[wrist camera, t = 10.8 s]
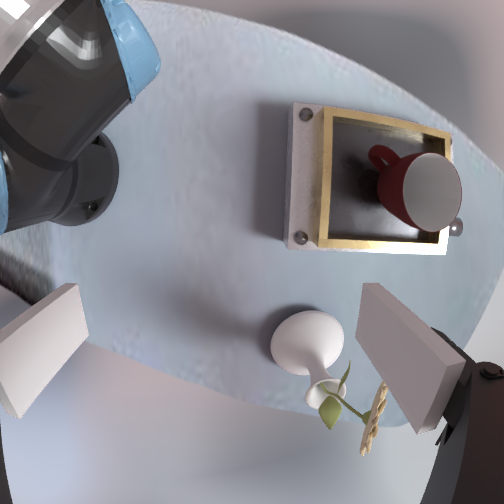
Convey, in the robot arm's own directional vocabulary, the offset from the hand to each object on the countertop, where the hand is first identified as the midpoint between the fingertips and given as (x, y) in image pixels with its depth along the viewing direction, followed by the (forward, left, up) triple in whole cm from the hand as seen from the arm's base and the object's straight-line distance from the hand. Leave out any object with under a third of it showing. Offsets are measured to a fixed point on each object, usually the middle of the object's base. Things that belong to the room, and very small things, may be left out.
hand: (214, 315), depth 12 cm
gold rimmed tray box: (+20, +7, -28) cm, 36 cm away
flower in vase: (+11, -17, -29) cm, 35 cm away
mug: (+18, +7, -23) cm, 31 cm away
